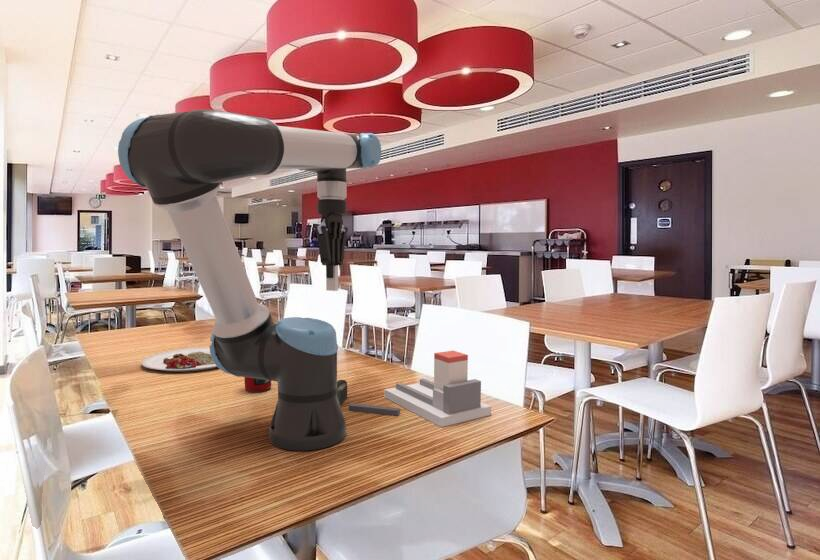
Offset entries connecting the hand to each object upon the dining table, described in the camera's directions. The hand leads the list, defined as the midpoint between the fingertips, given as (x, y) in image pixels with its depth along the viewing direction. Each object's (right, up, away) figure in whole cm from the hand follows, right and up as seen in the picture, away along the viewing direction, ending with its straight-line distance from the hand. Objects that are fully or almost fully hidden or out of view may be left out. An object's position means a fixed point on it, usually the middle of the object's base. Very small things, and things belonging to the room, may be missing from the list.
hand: (332, 290), depth 131 cm
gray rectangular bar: (+12, -28, -16) cm, 34 cm away
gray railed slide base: (+26, -27, -11) cm, 40 cm away
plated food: (-49, -24, +30) cm, 62 cm away
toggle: (+30, -25, -16) cm, 42 cm away
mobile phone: (+2, -28, -12) cm, 30 cm away
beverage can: (-20, -26, +1) cm, 33 cm away
